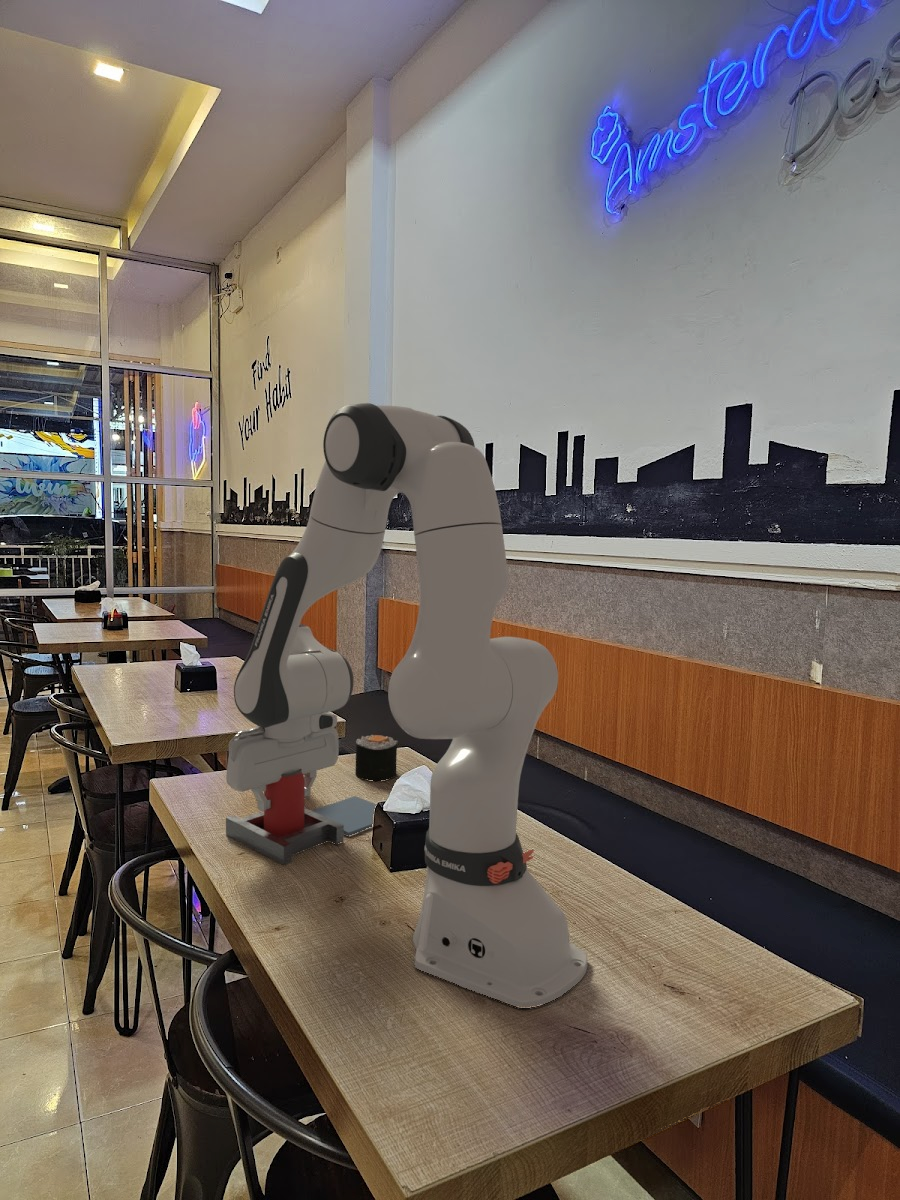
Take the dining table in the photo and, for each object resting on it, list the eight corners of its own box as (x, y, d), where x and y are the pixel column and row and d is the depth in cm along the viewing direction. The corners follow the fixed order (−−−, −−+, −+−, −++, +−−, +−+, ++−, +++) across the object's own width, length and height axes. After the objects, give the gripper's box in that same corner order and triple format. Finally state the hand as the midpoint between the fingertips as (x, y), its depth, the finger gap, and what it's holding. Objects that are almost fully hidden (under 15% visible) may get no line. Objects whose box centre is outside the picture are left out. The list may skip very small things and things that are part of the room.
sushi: (372, 765, 167) (372, 730, 167) (403, 773, 163) (404, 737, 162) (347, 775, 161) (348, 738, 160) (379, 784, 156) (380, 746, 155)
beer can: (299, 847, 126) (300, 776, 124) (259, 846, 126) (259, 774, 125) (307, 831, 132) (308, 763, 131) (269, 829, 132) (269, 761, 131)
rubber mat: (399, 817, 139) (399, 813, 139) (348, 837, 130) (348, 832, 130) (355, 800, 147) (355, 796, 147) (304, 817, 138) (304, 812, 138)
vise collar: (343, 842, 128) (343, 825, 128) (283, 865, 119) (283, 846, 119) (284, 815, 139) (285, 799, 138) (225, 834, 130) (225, 817, 130)
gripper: (241, 738, 117) (241, 826, 119) (344, 714, 132) (343, 793, 134) (218, 729, 121) (218, 814, 123) (321, 707, 136) (320, 783, 138)
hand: (284, 803), depth 128 cm, fingers closed on beer can, 7 cm apart
